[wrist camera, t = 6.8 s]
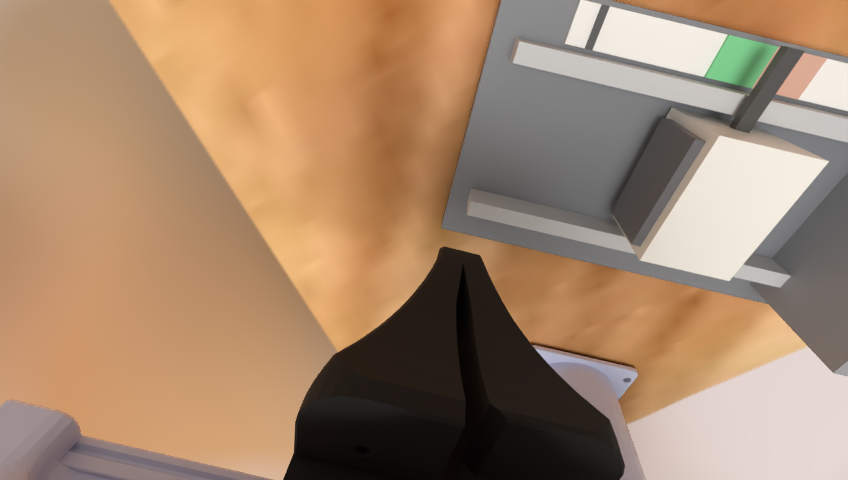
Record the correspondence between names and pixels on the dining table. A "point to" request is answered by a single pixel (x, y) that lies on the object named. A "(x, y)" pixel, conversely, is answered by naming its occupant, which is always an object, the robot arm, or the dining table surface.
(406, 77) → the dining table surface
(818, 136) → the gauge rail
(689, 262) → the slider
